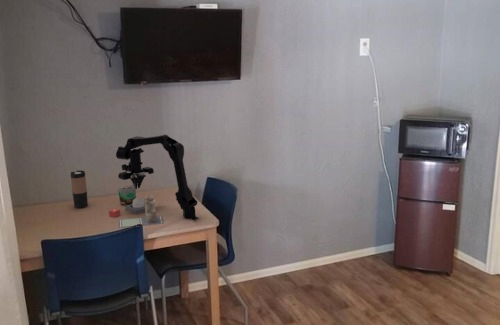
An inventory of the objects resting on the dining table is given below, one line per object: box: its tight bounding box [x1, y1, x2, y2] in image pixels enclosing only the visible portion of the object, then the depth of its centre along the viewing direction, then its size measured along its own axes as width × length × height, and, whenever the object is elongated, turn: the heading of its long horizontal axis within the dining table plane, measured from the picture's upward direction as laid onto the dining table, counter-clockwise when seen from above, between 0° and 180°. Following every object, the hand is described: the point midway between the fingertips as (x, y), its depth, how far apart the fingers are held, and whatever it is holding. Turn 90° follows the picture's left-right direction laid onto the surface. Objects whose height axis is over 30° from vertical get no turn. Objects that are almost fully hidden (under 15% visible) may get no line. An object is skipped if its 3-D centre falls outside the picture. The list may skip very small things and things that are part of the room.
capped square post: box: [144, 194, 157, 223], centre depth 239 cm, size 4×4×13 cm
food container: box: [117, 185, 137, 206], centre depth 269 cm, size 12×6×10 cm, turn 143°
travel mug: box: [70, 170, 89, 209], centre depth 264 cm, size 8×8×20 cm
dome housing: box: [124, 202, 145, 215], centre depth 257 cm, size 10×10×3 cm
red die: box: [108, 208, 121, 218], centre depth 248 cm, size 4×4×4 cm
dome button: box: [132, 196, 145, 209], centre depth 257 cm, size 6×6×6 cm
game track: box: [118, 215, 165, 229], centre depth 240 cm, size 22×12×1 cm, turn 106°
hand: (137, 188), depth 254 cm, fingers closed
